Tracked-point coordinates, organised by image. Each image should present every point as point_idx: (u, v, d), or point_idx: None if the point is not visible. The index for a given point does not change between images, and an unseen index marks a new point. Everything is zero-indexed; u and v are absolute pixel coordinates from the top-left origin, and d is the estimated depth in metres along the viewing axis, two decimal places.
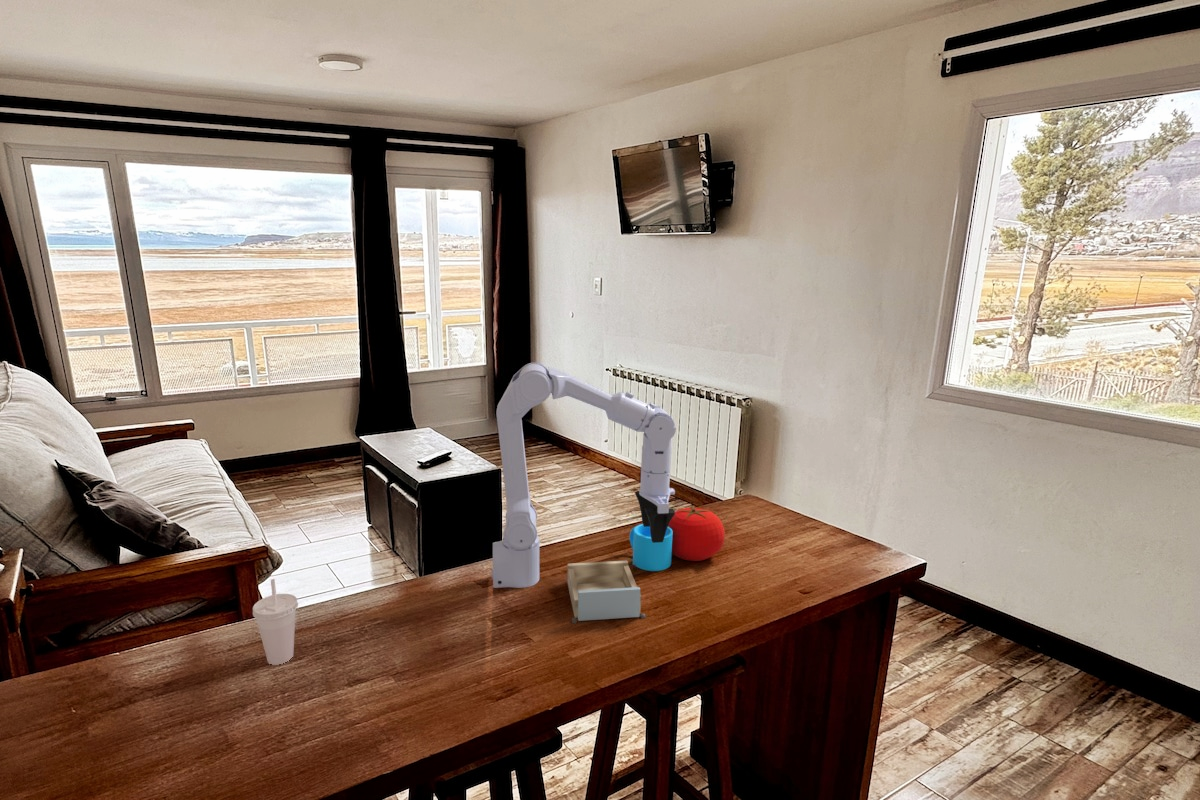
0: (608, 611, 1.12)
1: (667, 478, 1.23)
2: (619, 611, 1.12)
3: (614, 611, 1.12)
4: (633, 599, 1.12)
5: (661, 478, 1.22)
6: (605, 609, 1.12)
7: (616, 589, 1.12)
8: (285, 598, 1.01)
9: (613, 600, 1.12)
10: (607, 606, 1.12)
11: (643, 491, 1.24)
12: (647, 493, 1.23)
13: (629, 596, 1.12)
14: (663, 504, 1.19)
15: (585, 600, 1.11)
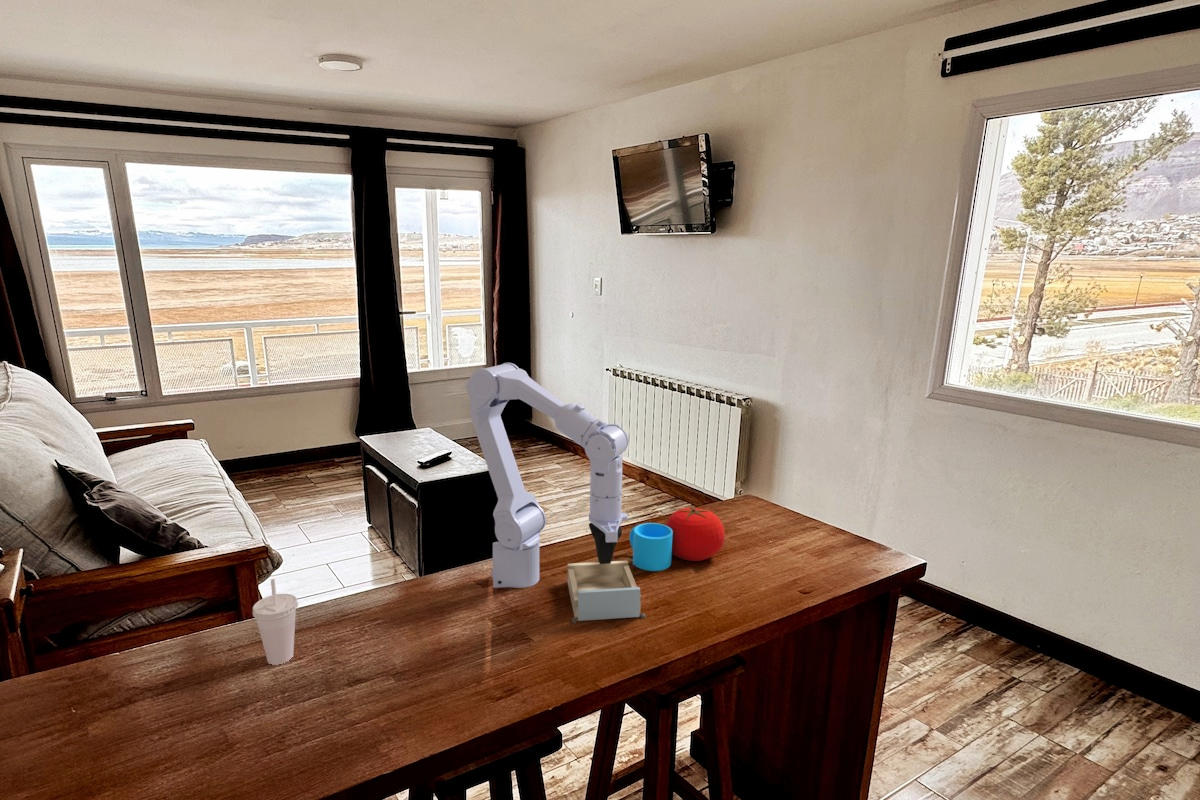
0: (608, 611, 1.12)
1: (618, 503, 1.13)
2: (619, 611, 1.12)
3: (614, 611, 1.12)
4: (633, 599, 1.12)
5: (611, 503, 1.12)
6: (605, 609, 1.12)
7: (616, 589, 1.12)
8: (285, 598, 1.01)
9: (613, 600, 1.12)
10: (607, 606, 1.12)
11: (592, 517, 1.13)
12: (596, 519, 1.13)
13: (629, 596, 1.12)
14: (611, 532, 1.08)
15: (585, 600, 1.11)
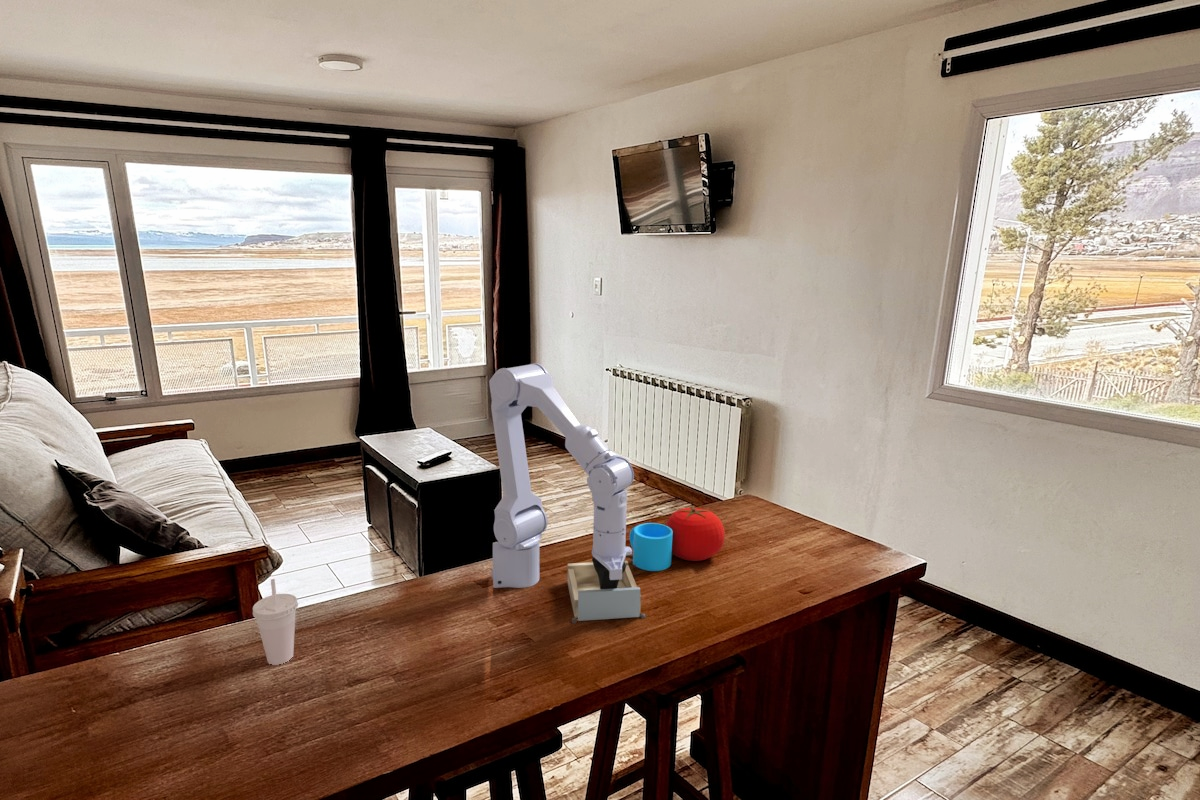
0: (608, 611, 1.12)
1: (622, 537, 1.09)
2: (619, 611, 1.12)
3: (614, 611, 1.12)
4: (633, 599, 1.12)
5: (615, 538, 1.08)
6: (605, 609, 1.12)
7: (616, 589, 1.12)
8: (285, 598, 1.01)
9: (613, 600, 1.12)
10: (607, 606, 1.12)
11: (595, 552, 1.10)
12: (599, 554, 1.09)
13: (629, 596, 1.12)
14: (615, 569, 1.05)
15: (585, 600, 1.11)
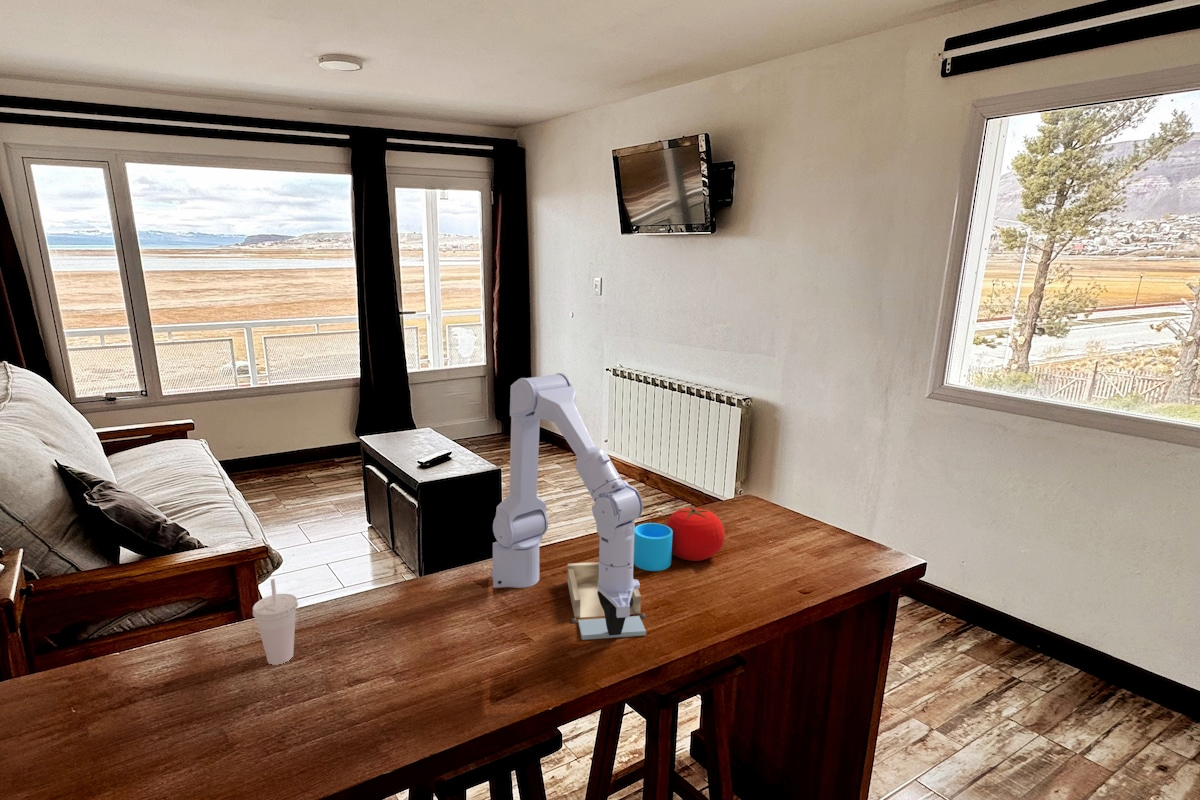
0: None
1: (629, 571, 1.03)
2: None
3: None
4: None
5: (622, 572, 1.02)
6: None
7: (621, 634, 1.07)
8: (285, 598, 1.01)
9: None
10: None
11: (601, 586, 1.04)
12: (606, 589, 1.03)
13: None
14: (623, 607, 0.98)
15: None
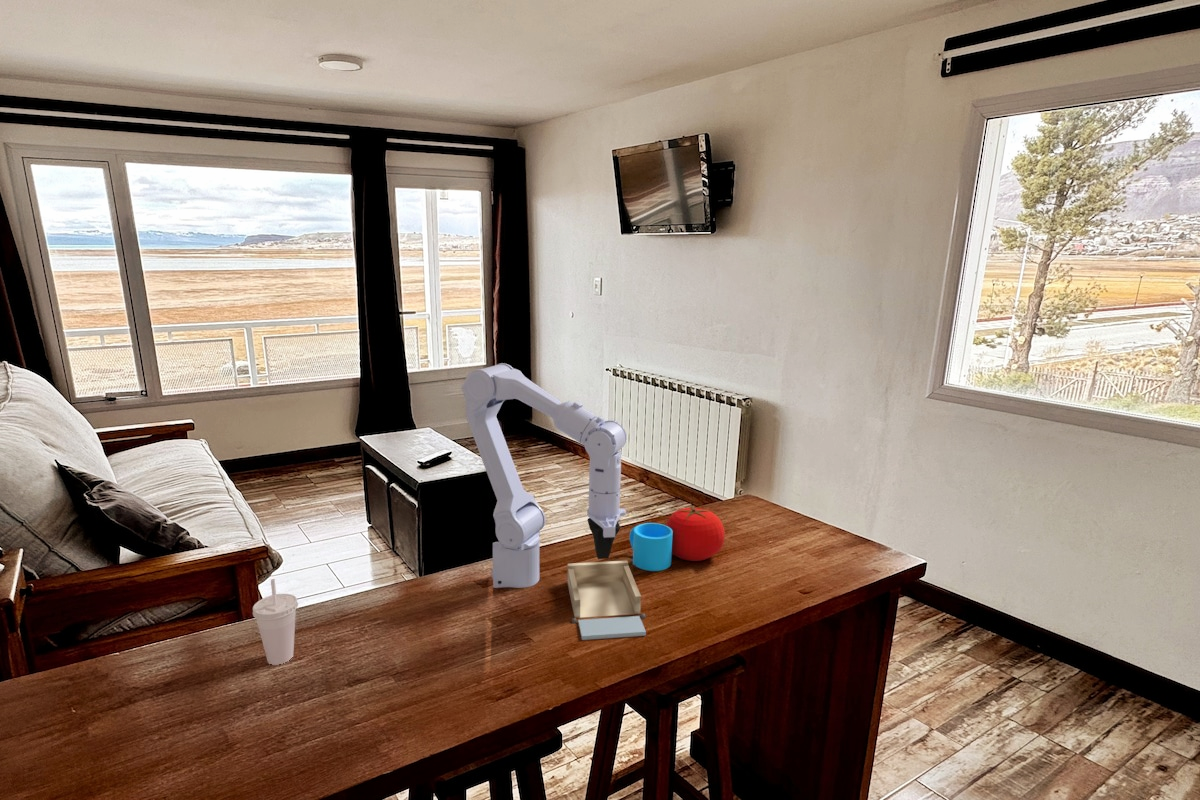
0: None
1: (616, 498, 1.14)
2: None
3: None
4: None
5: (609, 498, 1.13)
6: None
7: (621, 635, 1.07)
8: (285, 598, 1.01)
9: None
10: None
11: (590, 512, 1.15)
12: (594, 514, 1.14)
13: None
14: (609, 527, 1.09)
15: None
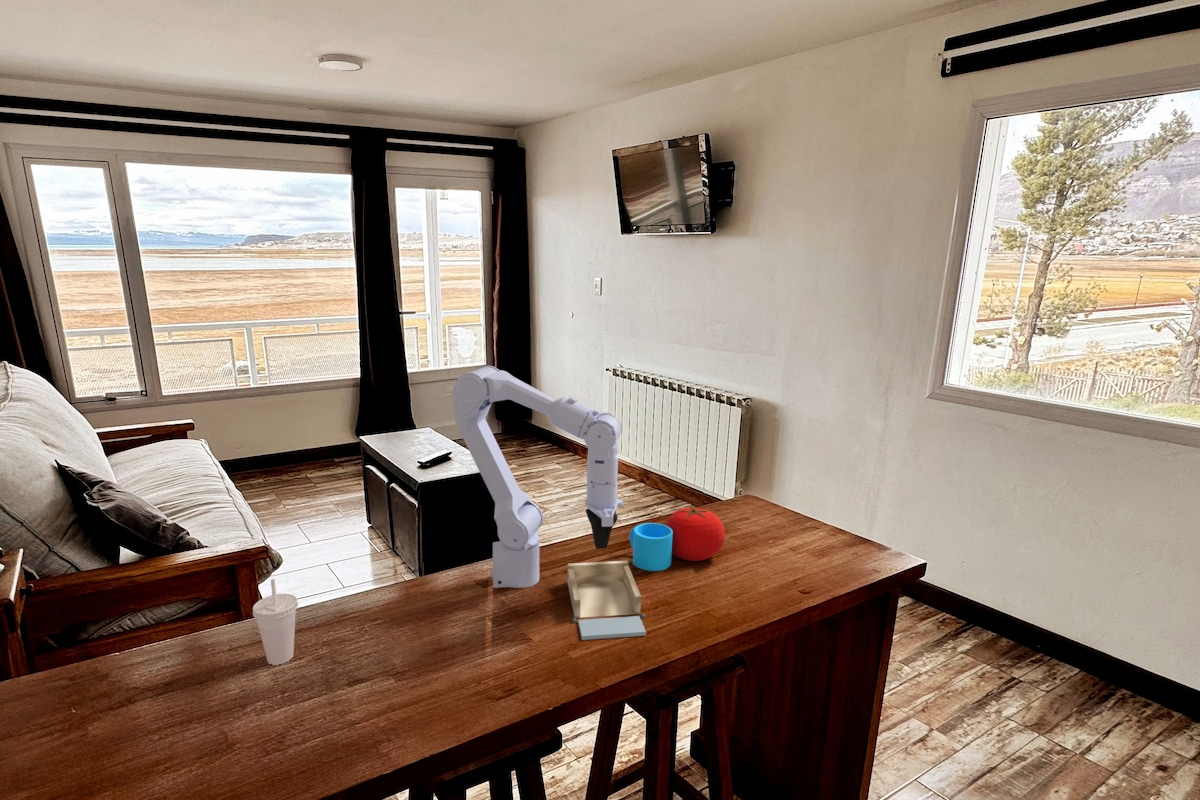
0: None
1: (614, 489, 1.17)
2: None
3: None
4: None
5: (607, 489, 1.16)
6: None
7: (621, 635, 1.07)
8: (285, 598, 1.01)
9: None
10: None
11: (589, 502, 1.18)
12: (592, 505, 1.17)
13: None
14: (607, 517, 1.12)
15: None
